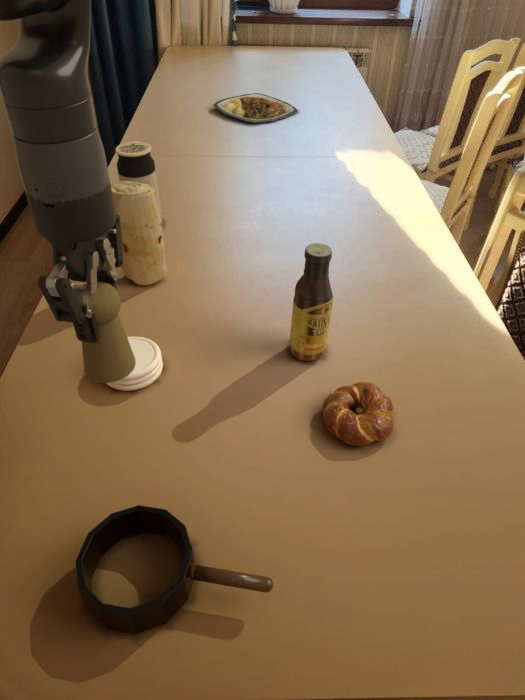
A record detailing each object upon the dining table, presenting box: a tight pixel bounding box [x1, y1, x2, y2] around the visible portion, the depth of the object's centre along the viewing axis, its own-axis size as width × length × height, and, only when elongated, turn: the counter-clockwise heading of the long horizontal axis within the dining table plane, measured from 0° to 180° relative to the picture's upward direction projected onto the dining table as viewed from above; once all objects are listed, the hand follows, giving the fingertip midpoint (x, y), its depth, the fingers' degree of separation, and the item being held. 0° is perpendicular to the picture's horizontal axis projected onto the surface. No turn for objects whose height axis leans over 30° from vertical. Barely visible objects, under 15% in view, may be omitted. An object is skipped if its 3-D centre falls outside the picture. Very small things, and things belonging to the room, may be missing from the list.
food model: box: [110, 181, 168, 286], centre depth 102 cm, size 10×7×20 cm
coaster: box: [105, 336, 164, 392], centre depth 88 cm, size 10×10×4 cm
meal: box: [212, 92, 299, 124], centre depth 184 cm, size 25×25×3 cm
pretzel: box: [321, 381, 394, 447], centre depth 80 cm, size 12×11×4 cm
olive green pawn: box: [76, 282, 136, 384], centre depth 61 cm, size 6×6×11 cm
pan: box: [75, 504, 274, 635], centre depth 61 cm, size 22×12×5 cm, turn 80°
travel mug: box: [114, 140, 163, 226], centre depth 119 cm, size 8×8×18 cm
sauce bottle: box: [289, 242, 334, 362], centre depth 86 cm, size 7×6×20 cm
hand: (100, 323), depth 60 cm, fingers closed on olive green pawn, 5 cm apart
